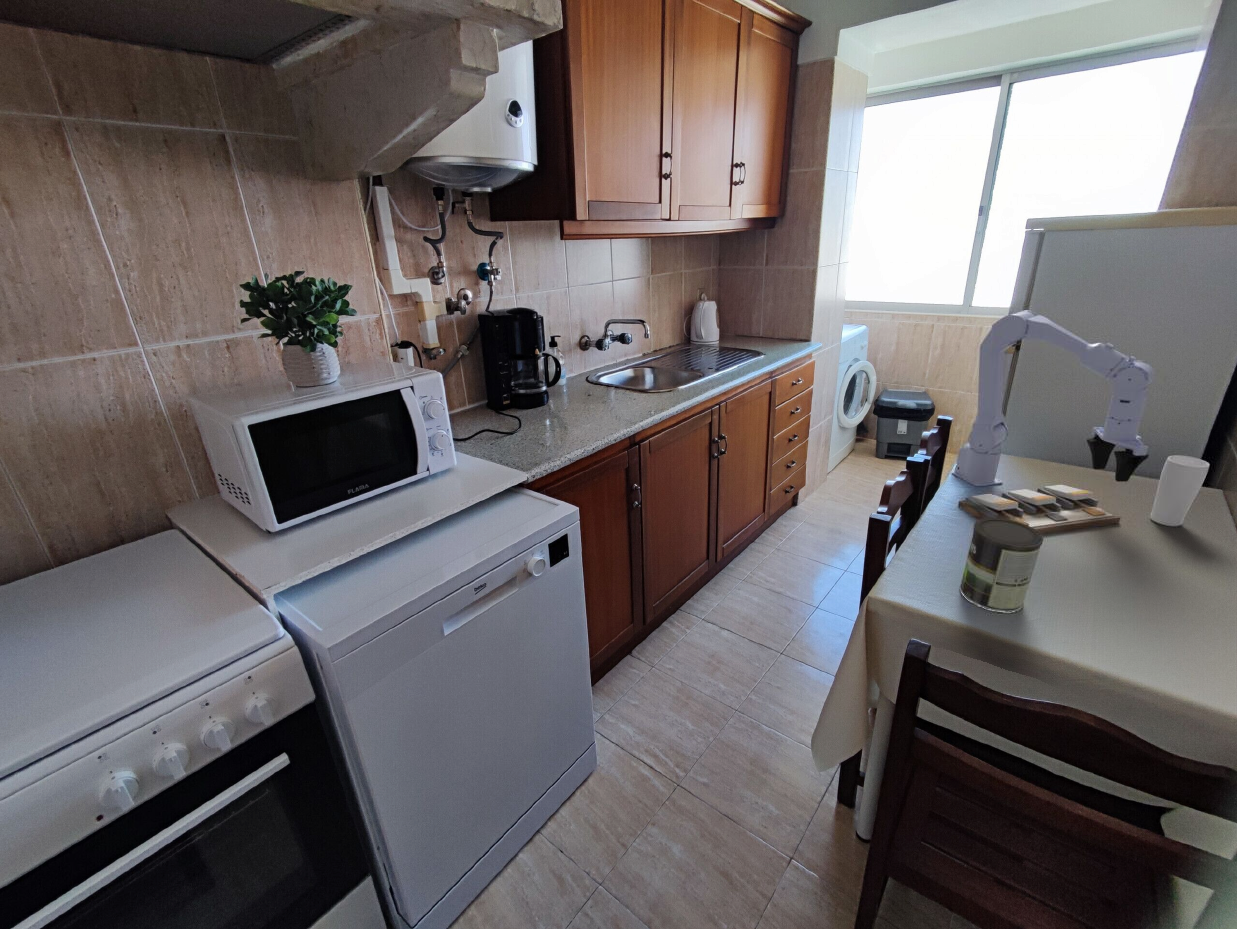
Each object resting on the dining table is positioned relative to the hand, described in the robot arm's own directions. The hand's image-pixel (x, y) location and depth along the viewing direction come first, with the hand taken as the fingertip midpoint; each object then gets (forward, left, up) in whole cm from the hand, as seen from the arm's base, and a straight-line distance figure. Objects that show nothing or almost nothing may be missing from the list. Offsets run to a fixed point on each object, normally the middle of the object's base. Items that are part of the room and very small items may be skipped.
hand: (1109, 474), depth 128 cm
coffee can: (+22, -48, -10) cm, 54 cm away
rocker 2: (-5, -4, -7) cm, 9 cm away
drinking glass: (+7, +10, -10) cm, 16 cm away
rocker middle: (-5, -14, -7) cm, 16 cm away
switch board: (-3, -14, -10) cm, 17 cm away
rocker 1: (-5, -24, -7) cm, 26 cm away
